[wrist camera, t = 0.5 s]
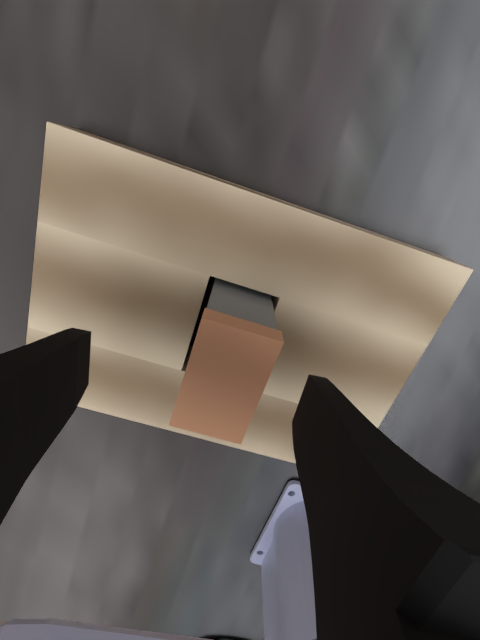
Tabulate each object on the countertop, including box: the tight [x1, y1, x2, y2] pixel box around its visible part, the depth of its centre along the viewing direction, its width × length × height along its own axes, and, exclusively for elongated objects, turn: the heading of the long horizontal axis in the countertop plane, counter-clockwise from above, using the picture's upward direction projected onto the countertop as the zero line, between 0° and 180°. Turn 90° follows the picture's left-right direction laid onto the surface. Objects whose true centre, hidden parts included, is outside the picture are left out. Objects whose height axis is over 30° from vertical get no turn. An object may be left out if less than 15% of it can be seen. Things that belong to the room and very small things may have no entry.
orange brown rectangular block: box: [169, 277, 284, 445], centre depth 17 cm, size 5×3×7 cm, turn 162°
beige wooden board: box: [26, 122, 473, 464], centre depth 20 cm, size 14×20×3 cm
